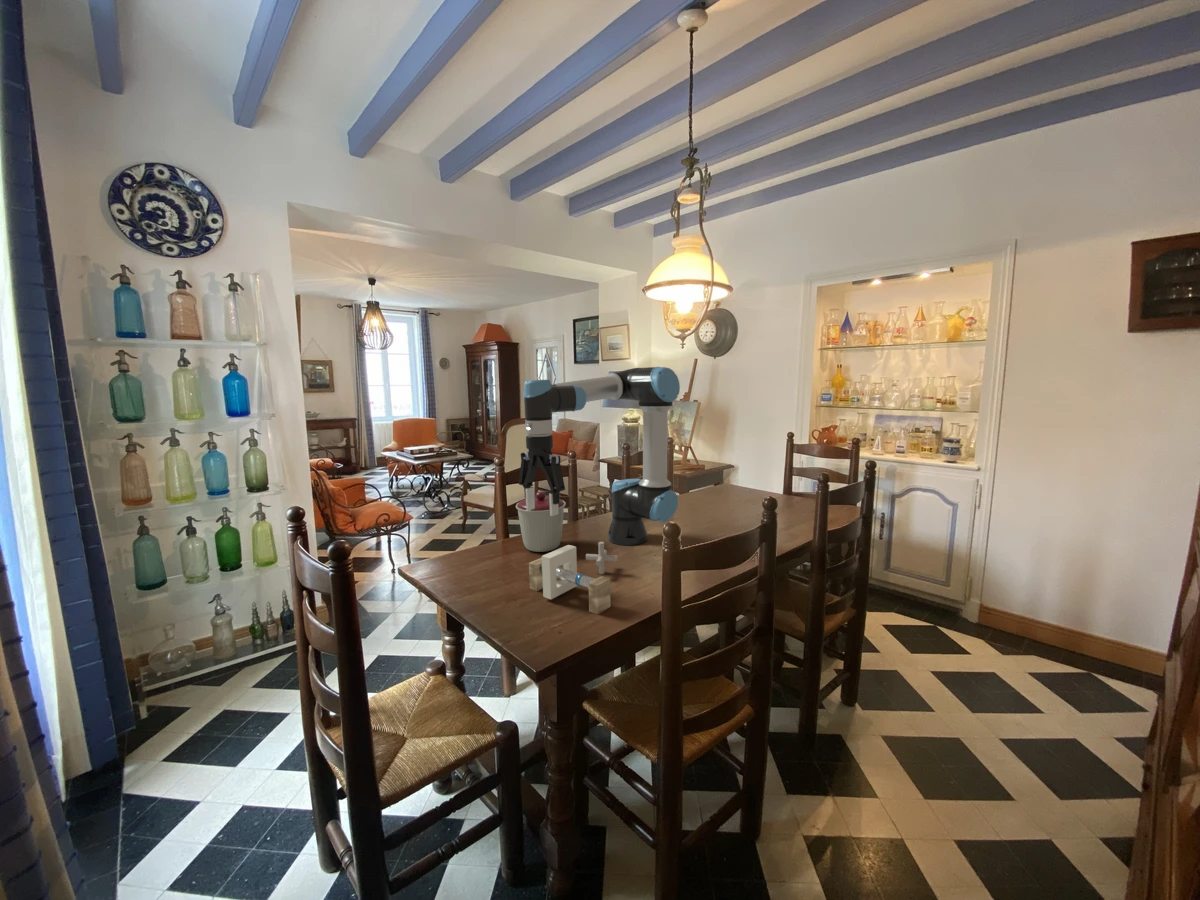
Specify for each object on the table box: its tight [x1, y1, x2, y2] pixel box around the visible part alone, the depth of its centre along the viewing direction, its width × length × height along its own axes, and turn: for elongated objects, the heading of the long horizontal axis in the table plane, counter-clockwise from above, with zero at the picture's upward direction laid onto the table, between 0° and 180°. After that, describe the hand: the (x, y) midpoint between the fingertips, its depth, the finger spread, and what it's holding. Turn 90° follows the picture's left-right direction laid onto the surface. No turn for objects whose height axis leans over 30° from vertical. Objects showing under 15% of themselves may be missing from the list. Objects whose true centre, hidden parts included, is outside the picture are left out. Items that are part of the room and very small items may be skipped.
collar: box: [541, 544, 578, 600], centre depth 136 cm, size 3×11×12 cm, turn 141°
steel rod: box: [539, 563, 596, 590], centre depth 134 cm, size 25×3×3 cm, turn 51°
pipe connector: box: [585, 541, 618, 575], centre depth 151 cm, size 10×10×10 cm
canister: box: [515, 491, 567, 553], centre depth 174 cm, size 18×18×21 cm
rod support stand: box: [528, 557, 612, 615], centre depth 135 cm, size 26×6×8 cm, turn 51°
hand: (542, 512), depth 138 cm, fingers open, 9 cm apart
